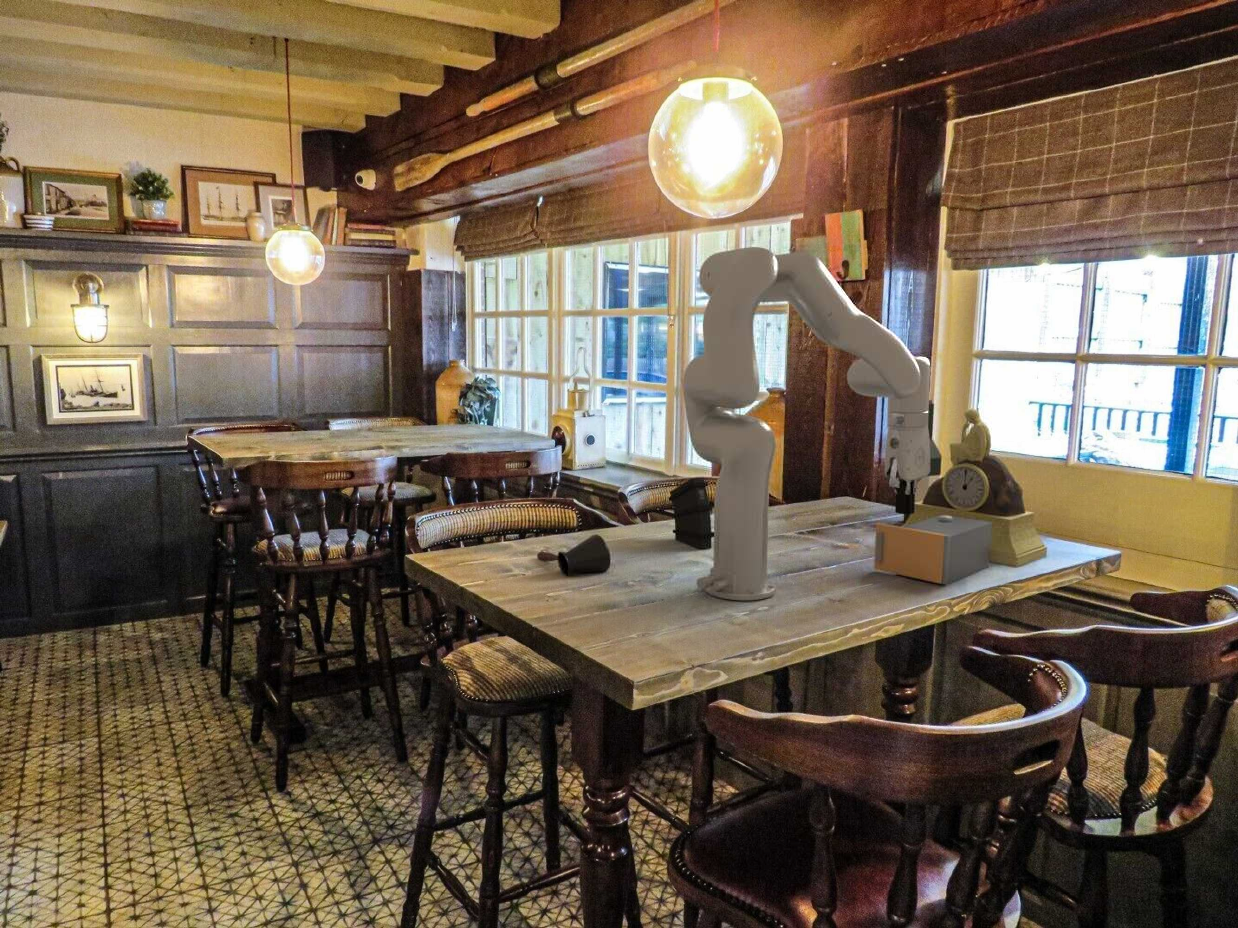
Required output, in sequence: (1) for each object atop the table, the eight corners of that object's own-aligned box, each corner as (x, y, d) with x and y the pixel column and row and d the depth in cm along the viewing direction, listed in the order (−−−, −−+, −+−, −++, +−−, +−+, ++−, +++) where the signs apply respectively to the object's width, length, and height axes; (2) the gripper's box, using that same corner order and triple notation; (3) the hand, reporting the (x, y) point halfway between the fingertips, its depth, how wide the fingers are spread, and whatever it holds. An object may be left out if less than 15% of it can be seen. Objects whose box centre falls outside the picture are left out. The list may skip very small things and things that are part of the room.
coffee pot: (614, 572, 165) (575, 585, 162) (575, 563, 181) (538, 574, 178) (607, 535, 165) (567, 547, 161) (568, 528, 181) (531, 539, 177)
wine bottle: (944, 528, 204) (951, 401, 199) (908, 527, 204) (915, 401, 199) (931, 520, 212) (938, 398, 207) (897, 520, 212) (903, 398, 207)
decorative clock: (891, 541, 191) (898, 406, 187) (922, 532, 200) (929, 403, 195) (1017, 567, 170) (1027, 416, 166) (1046, 556, 178) (1057, 412, 174)
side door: (944, 585, 156) (946, 536, 155) (872, 569, 167) (874, 524, 165) (948, 583, 157) (950, 535, 156) (876, 567, 168) (878, 522, 166)
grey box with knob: (946, 585, 158) (949, 533, 156) (896, 574, 165) (898, 524, 163) (994, 564, 172) (997, 516, 170) (946, 555, 179) (948, 509, 177)
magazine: (706, 546, 180) (691, 478, 184) (677, 559, 192) (663, 494, 195) (721, 544, 182) (706, 476, 186) (692, 557, 193) (678, 493, 197)
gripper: (906, 425, 159) (903, 522, 162) (944, 418, 169) (941, 509, 172) (869, 423, 164) (867, 516, 167) (908, 415, 174) (906, 504, 177)
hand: (904, 512), depth 169 cm, fingers closed
